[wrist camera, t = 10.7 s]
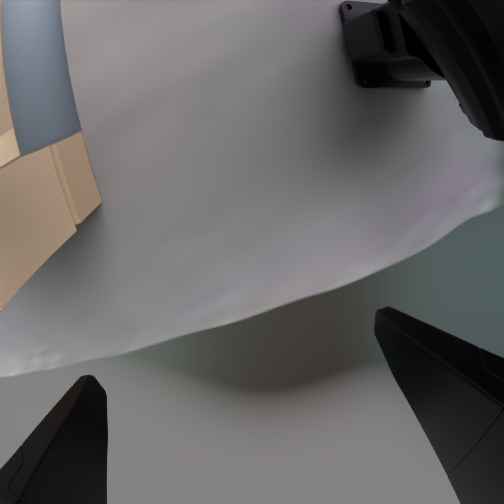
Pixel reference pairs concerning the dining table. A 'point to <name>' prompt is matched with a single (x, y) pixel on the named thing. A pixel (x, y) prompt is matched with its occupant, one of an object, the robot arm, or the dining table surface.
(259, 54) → the dining table surface
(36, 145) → the flap
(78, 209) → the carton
